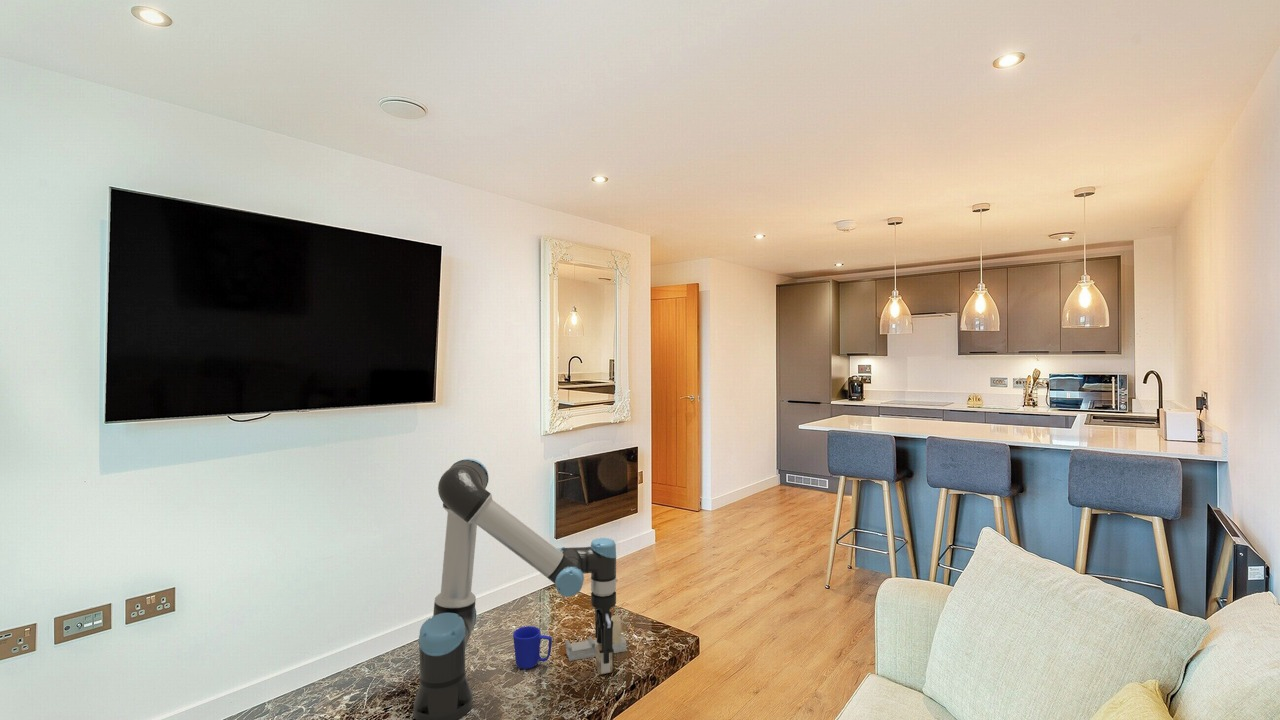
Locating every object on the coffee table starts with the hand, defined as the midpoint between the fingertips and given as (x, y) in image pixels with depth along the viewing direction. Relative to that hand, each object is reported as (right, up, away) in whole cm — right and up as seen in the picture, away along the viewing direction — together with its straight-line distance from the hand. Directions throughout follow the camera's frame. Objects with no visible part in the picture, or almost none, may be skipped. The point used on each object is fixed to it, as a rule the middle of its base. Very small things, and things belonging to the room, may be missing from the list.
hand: (603, 668), depth 176 cm
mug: (-22, -1, +3) cm, 22 cm away
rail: (-3, 0, +11) cm, 11 cm away
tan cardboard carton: (0, 0, 0) cm, 0 cm away
